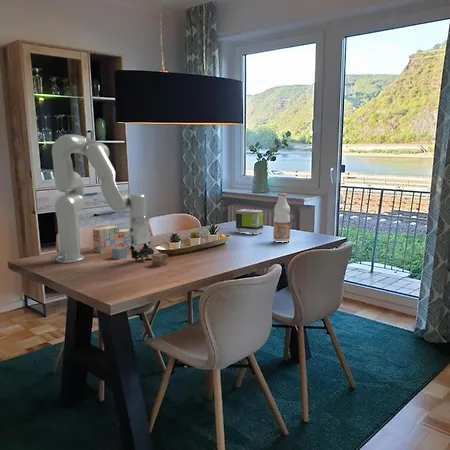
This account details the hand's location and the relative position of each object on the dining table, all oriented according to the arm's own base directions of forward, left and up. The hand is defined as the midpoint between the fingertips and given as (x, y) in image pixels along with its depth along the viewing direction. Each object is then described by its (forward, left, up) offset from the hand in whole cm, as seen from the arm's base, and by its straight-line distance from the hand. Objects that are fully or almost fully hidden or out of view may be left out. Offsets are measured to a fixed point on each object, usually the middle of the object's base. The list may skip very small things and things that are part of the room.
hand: (140, 256), depth 212 cm
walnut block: (0, -12, -3) cm, 13 cm away
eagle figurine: (+2, 0, -3) cm, 3 cm away
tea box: (+91, -9, -3) cm, 91 cm away
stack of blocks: (+13, +31, -3) cm, 34 cm away
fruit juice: (+77, -38, -3) cm, 86 cm away
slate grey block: (0, +14, -3) cm, 14 cm away
